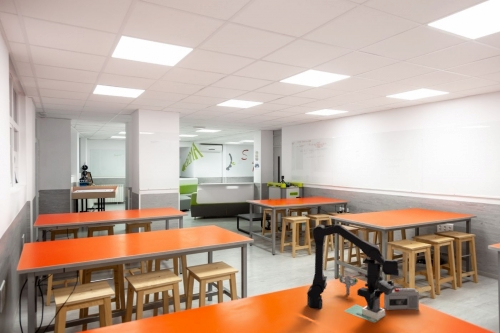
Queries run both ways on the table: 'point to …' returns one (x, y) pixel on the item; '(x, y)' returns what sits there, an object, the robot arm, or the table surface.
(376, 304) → the plug
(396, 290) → the cassette player
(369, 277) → the robot arm
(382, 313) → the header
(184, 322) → the table surface
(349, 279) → the mechanical component
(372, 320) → the board
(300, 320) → the table surface
